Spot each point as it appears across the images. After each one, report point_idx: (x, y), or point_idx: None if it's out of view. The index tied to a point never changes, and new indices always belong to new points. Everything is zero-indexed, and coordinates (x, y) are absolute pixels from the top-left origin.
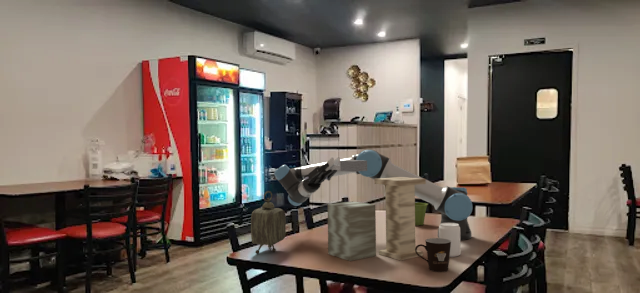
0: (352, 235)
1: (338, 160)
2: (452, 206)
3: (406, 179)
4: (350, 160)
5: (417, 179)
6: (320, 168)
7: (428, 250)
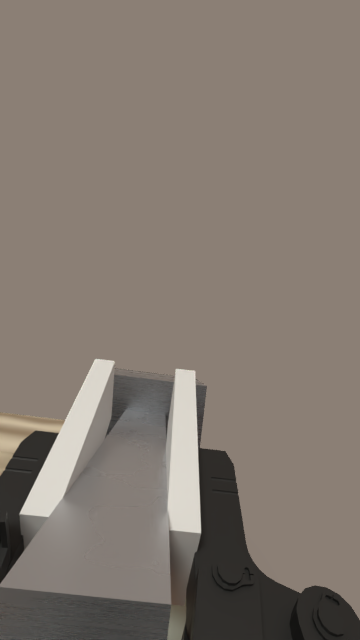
0: None
1: (111, 393)
2: None
3: (20, 420)
4: (148, 377)
5: (2, 413)
6: (281, 603)
7: None
